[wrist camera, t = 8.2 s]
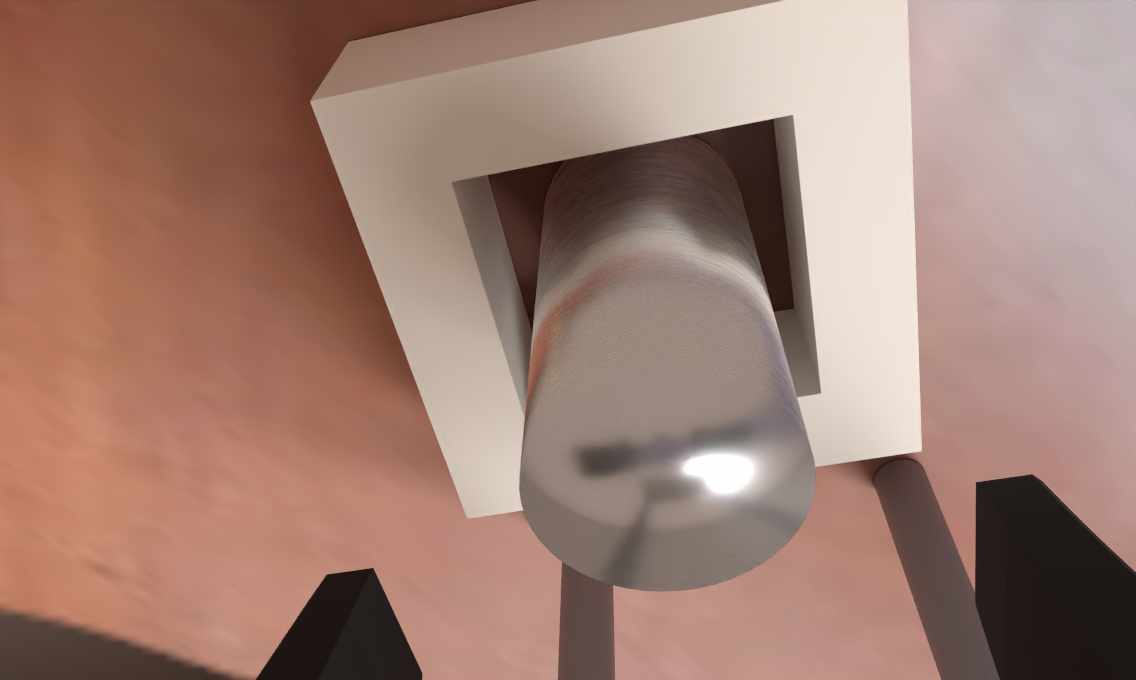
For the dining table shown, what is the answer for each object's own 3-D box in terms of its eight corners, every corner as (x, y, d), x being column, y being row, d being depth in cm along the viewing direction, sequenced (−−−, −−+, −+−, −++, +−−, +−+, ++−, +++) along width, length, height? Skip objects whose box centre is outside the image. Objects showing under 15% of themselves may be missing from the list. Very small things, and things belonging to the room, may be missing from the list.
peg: (758, 278, 21) (835, 563, 14) (574, 320, 22) (565, 611, 15) (721, 100, 19) (791, 339, 12) (518, 154, 19) (479, 407, 13)
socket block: (860, -71, 17) (906, -26, 15) (884, 362, 22) (922, 451, 20) (348, 41, 18) (309, 100, 16) (480, 427, 23) (467, 518, 21)
